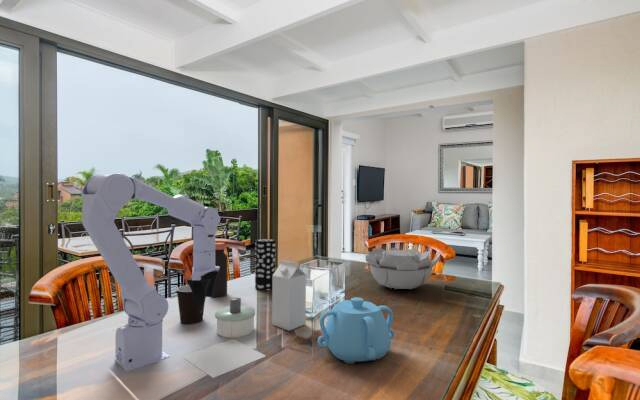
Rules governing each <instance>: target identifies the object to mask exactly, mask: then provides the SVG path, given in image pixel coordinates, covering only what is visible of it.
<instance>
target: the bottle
mask: <svg viewBox="0 0 640 400" xmlns="http://www.w3.org/2000/svg"><path fill="white" fill-rule="evenodd" d="M225 249H226V244H225V242H215V266H220V269H219V270H220V272H219V274H218V276H217V279H216V282H215V286H214V290H213V295H212V297H211V298H222V297H225V296H227V295H228V255H227V254H226V253H225Z"/></svg>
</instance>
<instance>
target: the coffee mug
mask: <svg viewBox="0 0 640 400" xmlns="http://www.w3.org/2000/svg"><path fill="white" fill-rule="evenodd" d="M176 293H177V294H176V295H177V304H178V312H179V320H180V323H181V324H183V325H195V324H199V323H200V322H202V321H203V320H204V313H205V312H204V311H205V303H206V302H205V303H204V305H195V302H194V297H193V293H192V290H191V288H190V286H189V285H188V284H186V285H181V286H179V287H177V288H176Z"/></svg>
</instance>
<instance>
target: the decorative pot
mask: <svg viewBox="0 0 640 400" xmlns="http://www.w3.org/2000/svg"><path fill="white" fill-rule="evenodd" d="M383 311H387V319H386V318H385V316H384V314H383ZM326 318H327V321H326V324H325V319H326ZM393 319H394V312H393V310H392V309H391V308H390V307H389V306H386V305H383V304H382V305H378V306H377V305H376V304H374V303H373V302H370V301H366V300H365V299H364V298H363V297H352V298H350V299H345V300H343V301H342V302H339V303H335V304H334V306H333V308H332V309H327V310H326V311H324V312H322V313H321V315H320V316H319V327H320V330H321V333H322V335H319V336H318V338H317V344H318V346H319V347H321V348H328V350H329V351H330V353H332V354H333V356H335V357H336V358H337V359H338V360H341V361H343V362H344V363H345V362H346V364H348V363H352V364H354V363H356V362H368V361H377V360H376V359H379V358H380V359H381V358H383V357H384V356H385V355H386V354H387V353H388V352H389V350H390V349H391V346H392V339H394V337H395V331H394V330H393V329H392V328H391V326H392V324H393ZM323 339H324V341H322V340H323ZM380 359H379V360H380ZM353 362H354V363H353Z"/></svg>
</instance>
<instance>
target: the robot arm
mask: <svg viewBox="0 0 640 400" xmlns="http://www.w3.org/2000/svg"><path fill="white" fill-rule="evenodd" d="M80 194H81V197H82V205H81V207H82V209H81V224H82V226H83V228H84V230H85V231H86V233H87V235H88V236H89V238H90V239H91V242H92V243H93V244H94V246H95V248H96V250H97V251H98V252H99V254H100V256H101V258H102V259H103V261H104V263H105V264H106V266H107V268H108V270H109V272H110V273H111V275H112V276H113V278H114V280H115V281H116V283H117V285H118V286H119V288H120V290H121V291H120V294H119V296H120V298H121V300H122V308H123V312H124V313H125V314H126V315H127V317H128V319H127V323H126V324H124V325H122V326H120V327H118V328H116V332H115V357H114V361H115V362H116V363H117V364H118V365H119V366H120V367H121V368H122V369H123V370H124V371H125V372H129V371H132V370H135V369H138V368H141V367H143V366H144V367H145V366H147V365H151V364H152V363H153V364H154V363H156V362H160V361H161V360H165V359H167V358H170V355H169V354H167V353H166V352H165V351H163V322H164V319H165V317H166V315H167V313H168V311H169V303H168V302H169V301H168V300H167V298H166V297H165V296H163V295H161V294H159V292H158V291H157V289H156V288H155V287H154V286H153V285H152V284H151V283H150V282H148V280H147V279H146V277H145V276H144V274H143V271H142V270H141V268H140V266H139V264H138V263H137V261H136V259H135V257H134V256H133V254H132V252H131V250H130V248H129V246H128V245H127V243H126V241H125V240H124V238H123V235H122V234H121V232H120V231H119V229H118V227H117V225H116V223H115V220H116V217H117V215H118V214H119V211H121V210H122V208H123V207H124V206H125V205H127V203H128V202H129V201H130V200H137V199H139V200H141V201H144V202H147V203H150V204H153V205H155V206H159V207H161V208H164V209H166V211H167V213H168V215H169V216H170V217H173V218H175V219H177V220H180V221H182V222H186V223H189V225H190V226H192V227H193V229H192V230H193V233H192V237H193V238H192V239H193V240H192V241H193V242H192V246H193V247H192V248H193V249H192V256H193V257H192V269H191V270H192V272H191V277H188V278H187V279H186V282H187V285H189V286H190V288H191V290H192V293H193V297H194V302H195V305H204V306H205V304H204V303H206V298H213V297H212V295H213V290H214V286H215V282H216V279H217V276H218V274H219V272H220V270H219V269H220V266H215V243H216V234H217V229H218V226H219V224H220V222H221V216H220V215H219V212H218V211H217V209H216V208H214V207H212V206H205V205H204V203H203V202H202V201H198V202H197V201H195V200H193V199H190V196H189V195H188V194H185V193H184V194H177V195H174V196H172V195H170V194H169V193H166V192H164V191H161V190H160V189H158V188H155V187H153V185H149V184H148V183H146V182H144V181H141V180H140V179H138V178H135V177H131V176H127V175H125V174H123V173H118V172H117V173H111V174H95V175H92V176H90V177H89V178H88V179H87V180H86V181H85V184H84V185H83V187H82V189H81V191H80Z"/></svg>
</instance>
